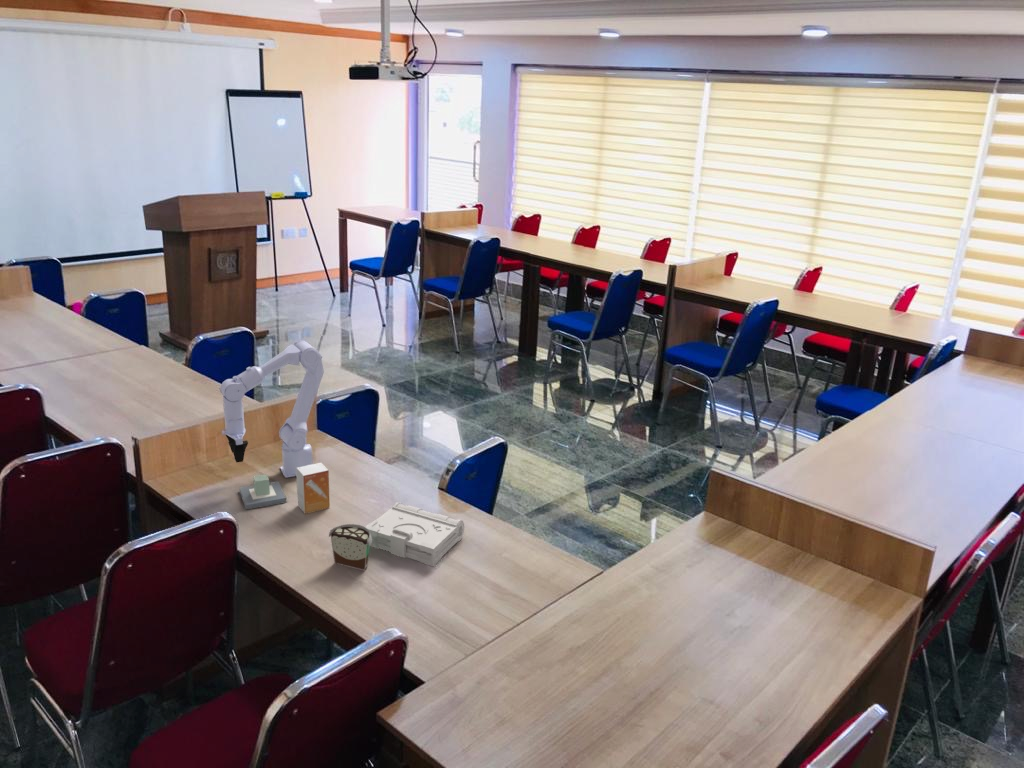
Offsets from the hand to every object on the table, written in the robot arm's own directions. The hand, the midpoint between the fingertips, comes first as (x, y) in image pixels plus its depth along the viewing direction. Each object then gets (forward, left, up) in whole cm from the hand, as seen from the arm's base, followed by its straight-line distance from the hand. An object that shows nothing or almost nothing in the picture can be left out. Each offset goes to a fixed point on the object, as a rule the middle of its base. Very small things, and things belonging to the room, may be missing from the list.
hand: (237, 456), depth 266 cm
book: (-38, +53, -10) cm, 66 cm away
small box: (-18, +24, -10) cm, 31 cm away
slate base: (-5, +12, -9) cm, 16 cm away
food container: (-21, +58, -10) cm, 62 cm away
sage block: (-5, +12, -8) cm, 15 cm away
